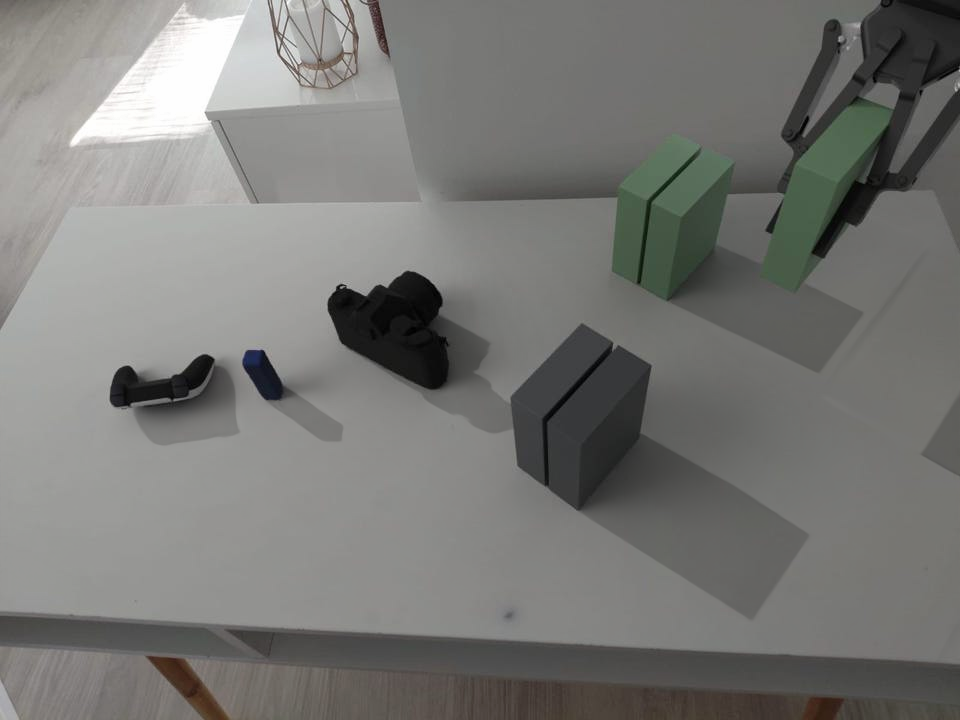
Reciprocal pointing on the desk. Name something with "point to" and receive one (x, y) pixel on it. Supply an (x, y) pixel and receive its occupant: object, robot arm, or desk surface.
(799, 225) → the sage book
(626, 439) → the grey book
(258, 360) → the blue rectangular bar
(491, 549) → the desk surface
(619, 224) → the green book
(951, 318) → the desk surface
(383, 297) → the film camera
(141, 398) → the gaming controller
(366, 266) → the desk surface
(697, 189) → the green book
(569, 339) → the grey book
